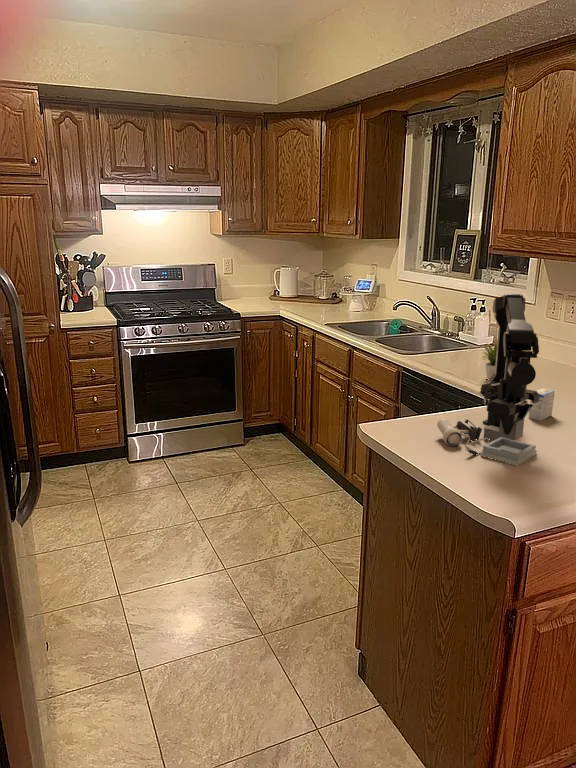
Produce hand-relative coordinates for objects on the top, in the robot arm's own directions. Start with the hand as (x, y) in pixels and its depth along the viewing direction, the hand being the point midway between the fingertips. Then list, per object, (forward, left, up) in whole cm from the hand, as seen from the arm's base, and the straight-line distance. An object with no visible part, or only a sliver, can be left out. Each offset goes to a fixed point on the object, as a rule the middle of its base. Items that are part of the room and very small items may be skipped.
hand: (510, 432), depth 162 cm
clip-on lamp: (+1, -13, -7) cm, 15 cm away
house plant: (-73, -42, -7) cm, 84 cm away
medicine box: (-39, -8, -7) cm, 40 cm away
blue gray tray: (0, 0, -7) cm, 7 cm away
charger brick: (0, 0, -1) cm, 1 cm away
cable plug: (-9, -9, -7) cm, 14 cm away
